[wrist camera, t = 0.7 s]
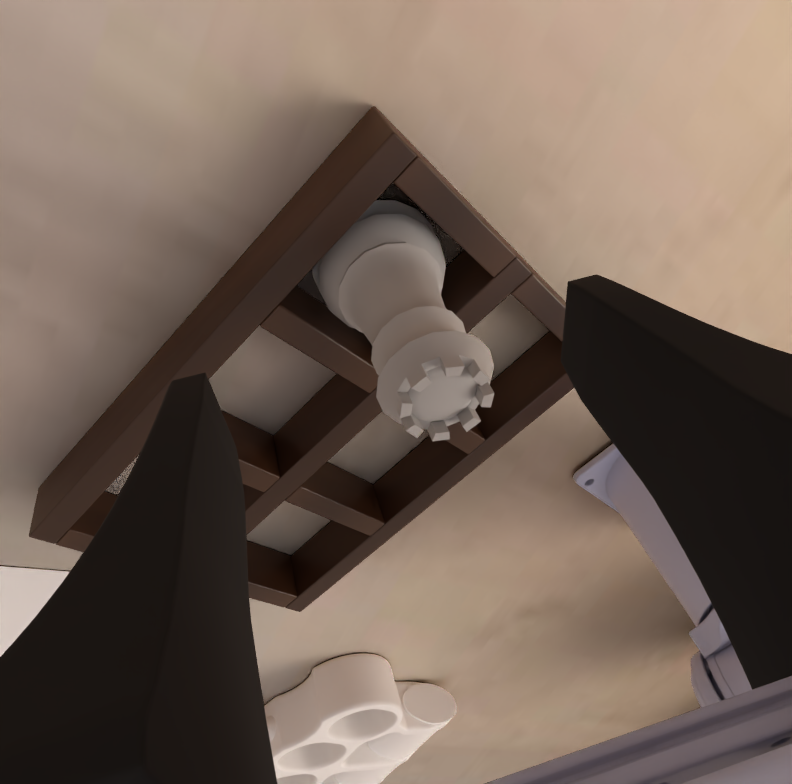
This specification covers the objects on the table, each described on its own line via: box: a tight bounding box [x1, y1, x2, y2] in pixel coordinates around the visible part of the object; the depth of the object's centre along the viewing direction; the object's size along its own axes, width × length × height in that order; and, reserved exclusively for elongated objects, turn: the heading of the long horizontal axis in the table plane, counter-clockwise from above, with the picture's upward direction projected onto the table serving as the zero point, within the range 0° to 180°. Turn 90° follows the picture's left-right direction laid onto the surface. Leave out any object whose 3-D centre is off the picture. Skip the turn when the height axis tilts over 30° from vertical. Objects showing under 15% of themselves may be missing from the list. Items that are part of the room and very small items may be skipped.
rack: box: [29, 106, 574, 612], centre depth 25 cm, size 13×19×2 cm
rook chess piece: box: [313, 200, 494, 441], centre depth 19 cm, size 4×4×8 cm
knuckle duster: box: [264, 653, 457, 784], centre depth 44 cm, size 3×18×15 cm
